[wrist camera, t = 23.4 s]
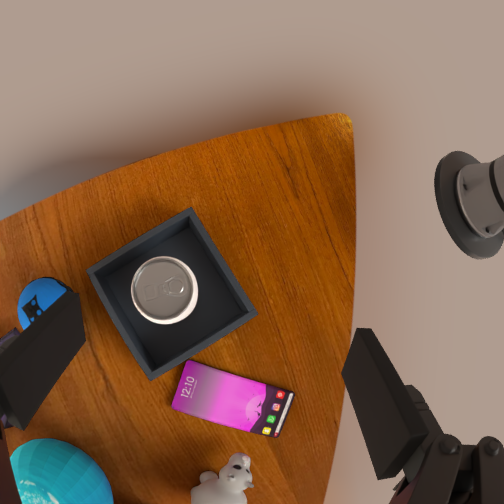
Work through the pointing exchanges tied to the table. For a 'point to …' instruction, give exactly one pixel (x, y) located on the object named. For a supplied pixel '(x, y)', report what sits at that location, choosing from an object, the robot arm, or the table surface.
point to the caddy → (207, 306)
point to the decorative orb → (58, 474)
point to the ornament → (39, 298)
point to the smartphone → (232, 400)
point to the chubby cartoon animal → (225, 483)
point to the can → (164, 290)
